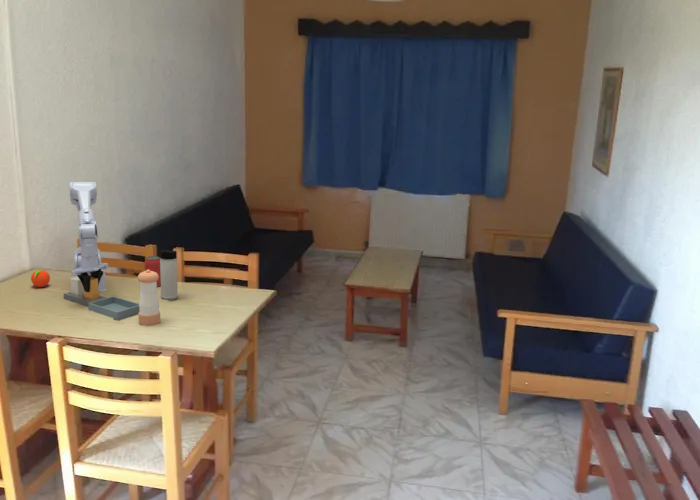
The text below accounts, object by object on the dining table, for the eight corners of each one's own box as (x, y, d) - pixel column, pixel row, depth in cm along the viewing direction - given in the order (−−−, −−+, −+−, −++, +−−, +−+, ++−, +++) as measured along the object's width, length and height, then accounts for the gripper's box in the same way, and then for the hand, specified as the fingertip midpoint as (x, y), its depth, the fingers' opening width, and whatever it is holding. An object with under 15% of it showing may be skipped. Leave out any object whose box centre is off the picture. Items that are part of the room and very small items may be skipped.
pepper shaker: (148, 327, 216) (146, 273, 212) (134, 322, 220) (132, 270, 215) (164, 321, 222) (163, 269, 218) (150, 316, 226) (149, 265, 221)
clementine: (44, 290, 249) (43, 273, 247) (26, 289, 249) (25, 272, 247) (53, 284, 257) (52, 267, 255) (36, 283, 257) (35, 267, 255)
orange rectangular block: (91, 296, 238) (90, 276, 236) (98, 298, 236) (97, 278, 234) (84, 298, 236) (83, 278, 234) (92, 300, 233) (90, 280, 231)
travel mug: (157, 299, 245) (155, 250, 240) (168, 295, 251) (166, 246, 246) (170, 302, 242) (169, 252, 238) (180, 297, 248) (179, 248, 244)
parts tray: (113, 303, 238) (113, 295, 237) (142, 312, 230) (142, 304, 229) (88, 310, 229) (88, 303, 228) (117, 320, 221) (117, 312, 220)
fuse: (78, 296, 242) (77, 276, 240) (85, 298, 240) (84, 278, 238) (71, 298, 240) (70, 278, 238) (78, 300, 238) (77, 280, 236)
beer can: (146, 288, 258) (145, 260, 255) (143, 283, 263) (143, 256, 261) (163, 286, 261) (162, 259, 258) (159, 282, 266) (159, 255, 264)
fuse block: (80, 295, 245) (79, 289, 244) (106, 303, 237) (106, 297, 236) (63, 299, 239) (63, 293, 239) (90, 308, 231) (90, 302, 231)
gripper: (78, 261, 224) (81, 297, 227) (112, 253, 236) (114, 288, 239) (66, 257, 227) (68, 293, 230) (100, 250, 239) (102, 284, 242)
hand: (91, 290), depth 235 cm, fingers closed on orange rectangular block, 3 cm apart
